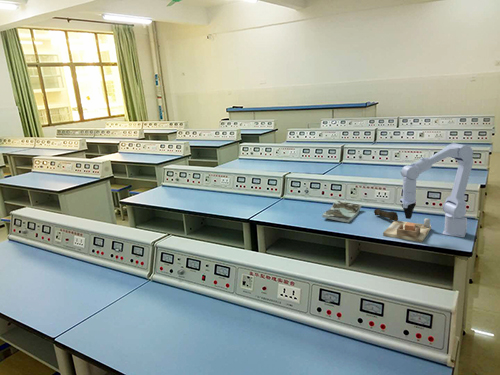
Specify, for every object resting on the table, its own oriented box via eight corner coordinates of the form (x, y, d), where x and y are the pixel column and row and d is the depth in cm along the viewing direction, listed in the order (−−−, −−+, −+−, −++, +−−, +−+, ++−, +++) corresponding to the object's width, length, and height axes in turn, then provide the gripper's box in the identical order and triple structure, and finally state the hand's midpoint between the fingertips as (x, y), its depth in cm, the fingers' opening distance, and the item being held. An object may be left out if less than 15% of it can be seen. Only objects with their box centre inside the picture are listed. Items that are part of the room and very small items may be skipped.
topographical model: (348, 223, 205) (348, 215, 204) (322, 220, 213) (322, 212, 212) (361, 210, 227) (361, 202, 225) (336, 207, 234) (336, 200, 233)
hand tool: (374, 215, 214) (373, 208, 213) (380, 214, 215) (379, 206, 214) (393, 222, 196) (392, 214, 195) (400, 221, 196) (399, 212, 196)
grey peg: (430, 226, 188) (430, 218, 187) (429, 227, 185) (429, 220, 184) (424, 225, 189) (424, 217, 188) (423, 227, 187) (423, 219, 186)
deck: (431, 229, 189) (431, 219, 188) (421, 242, 174) (422, 232, 173) (394, 223, 200) (394, 215, 199) (383, 236, 184) (383, 227, 183)
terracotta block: (415, 231, 183) (415, 223, 182) (413, 233, 180) (413, 226, 179) (406, 229, 185) (406, 222, 184) (404, 232, 182) (404, 224, 181)
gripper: (404, 186, 182) (403, 212, 185) (396, 194, 171) (395, 221, 174) (419, 187, 178) (418, 214, 181) (412, 195, 167) (411, 223, 170)
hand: (408, 218), depth 177 cm, fingers closed
